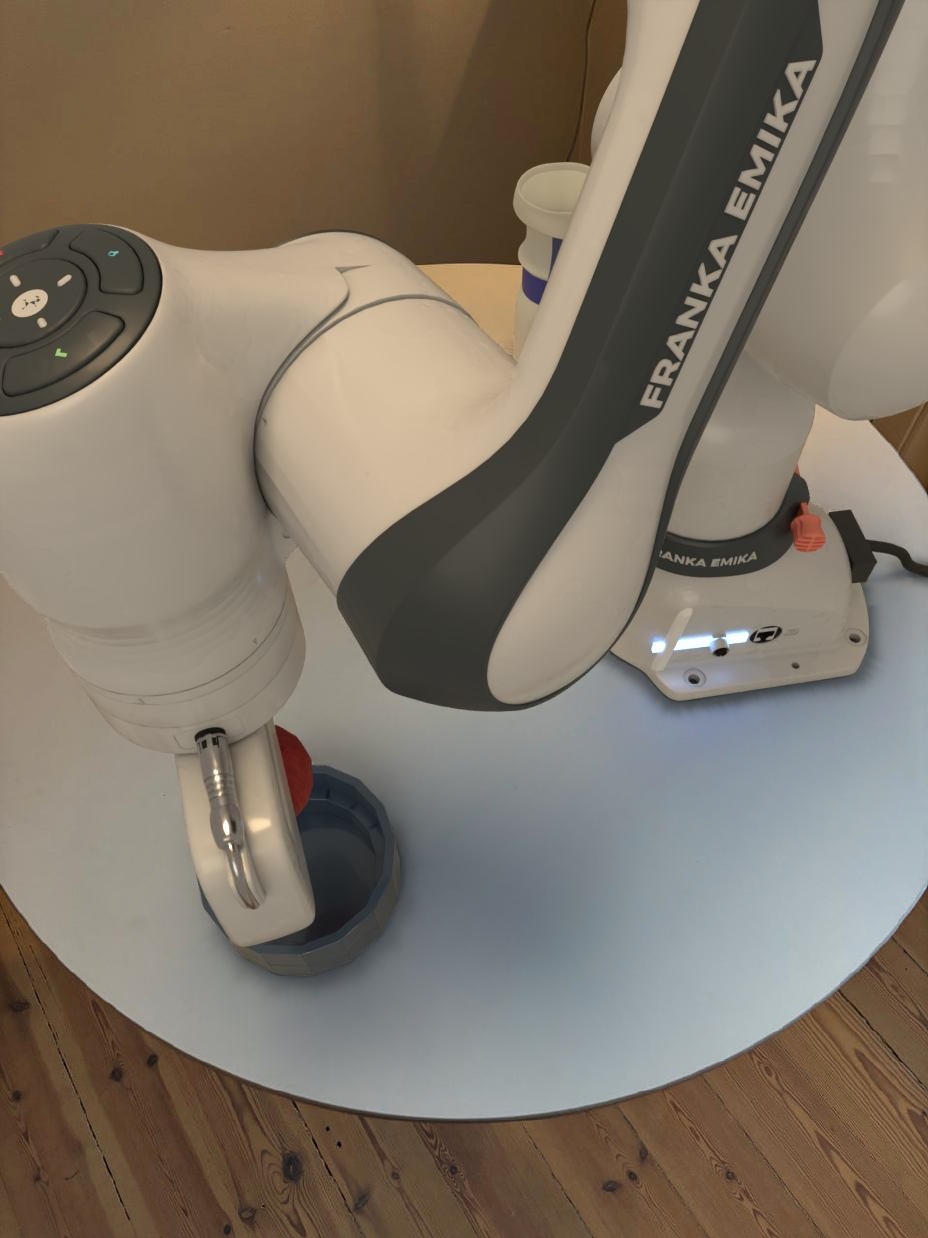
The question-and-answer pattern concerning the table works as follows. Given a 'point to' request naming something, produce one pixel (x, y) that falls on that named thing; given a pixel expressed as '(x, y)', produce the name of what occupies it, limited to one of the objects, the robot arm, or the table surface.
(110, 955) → the table surface
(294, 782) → the red fruit
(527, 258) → the water bottle
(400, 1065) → the table surface
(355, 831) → the bowl
